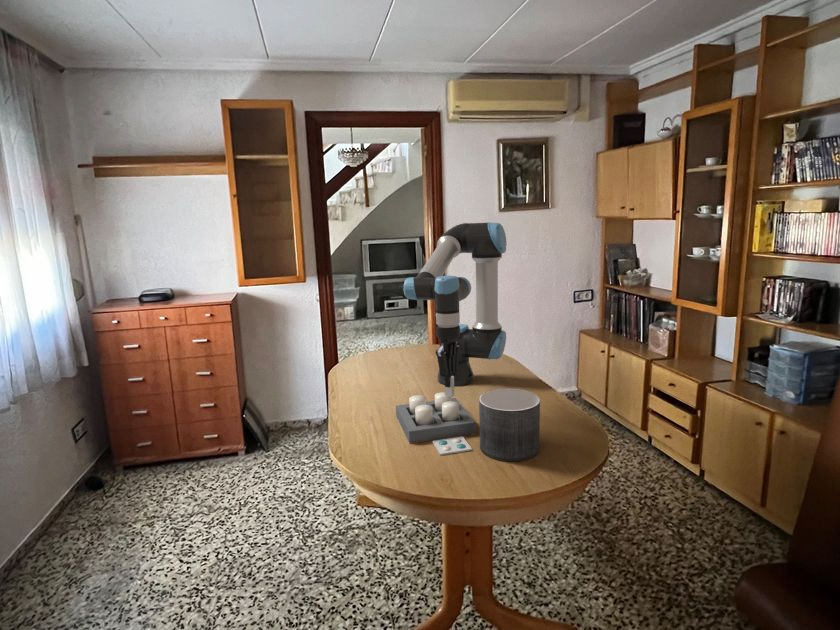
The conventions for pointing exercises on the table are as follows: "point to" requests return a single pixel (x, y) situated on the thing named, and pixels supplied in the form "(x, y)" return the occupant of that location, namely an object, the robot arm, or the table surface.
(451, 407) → the button
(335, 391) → the table surface
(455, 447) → the card
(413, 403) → the button
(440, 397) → the button
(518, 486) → the table surface
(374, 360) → the table surface
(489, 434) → the planter
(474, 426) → the board
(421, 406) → the button
